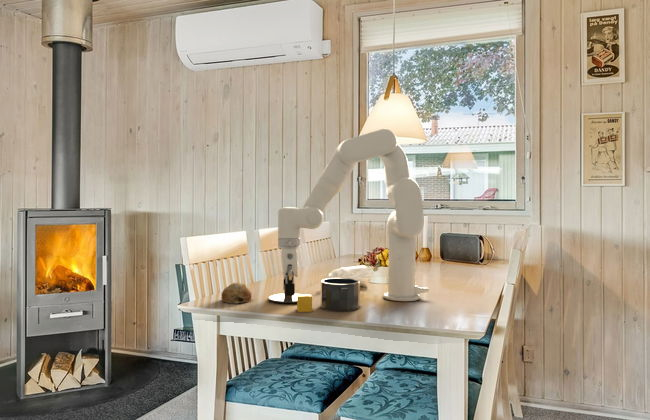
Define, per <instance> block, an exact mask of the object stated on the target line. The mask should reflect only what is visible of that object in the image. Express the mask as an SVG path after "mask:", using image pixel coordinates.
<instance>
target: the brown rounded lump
mask: <svg viewBox="0 0 650 420" xmlns="http://www.w3.org/2000/svg"><path fill="white" fill-rule="evenodd" d="M221 300H222V301H223V303H227V304H234V305H235V304H244V303H249V302H251V300H252V291H251V290H250V288H248V286H247V285H246V284H244V283H241V282H233V283H231V284H229V285H228V286H226V287H225V288H224V289H223V291H222V292H221Z"/></svg>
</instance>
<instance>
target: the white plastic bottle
mask: <svg viewBox="0 0 650 420" xmlns="http://www.w3.org/2000/svg"><path fill="white" fill-rule="evenodd" d="M370 271H371V269H370V268H369V267H368V266H367V265H356V266H347V267H346V266H345V267H339V268H337V269H334V270H332V271H331V272H330V273H327V274H326V275H325V276H324V277H323V278H324V279H329V278H349V279H355V280H359V281H360V287H363V286H367V285H369V283H370V282H371V278H372V276H371V275H372V274H371V272H370Z"/></svg>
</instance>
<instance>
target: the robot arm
mask: <svg viewBox="0 0 650 420" xmlns="http://www.w3.org/2000/svg"><path fill="white" fill-rule="evenodd" d="M333 152H334V153H333V154H332V156H331V158H330V160H329V161H328V163H327V165H326V166H325V168H324V170H323V171H322V173H321V174H320V177H319V178H318V179H317V181H316V184H315V186H314V187H313V189H312V190H311V192H310V194H309V196H308V197H307V199H306V201H305V202H304V204H303V206H302V207H299V208H298V207H293V206H292V207H291V206H287V207H286V206H285V207H280V208H279V209H278V212H277V248H278V249H281V272H282V276H283V285H284V284H285V296H294V295H295V294H296V293H295V291H296V288H295V287H296V286H295V285H296V284H295V278H297V277H299V268H298V267H299V263H298V262H299V260H298V249H299V248H301V229H306V230H307V229H308V230H315V229H317V228H318V229H319V228H320V227H321V225H322V224H323V222H324V212H325V210H326V209H327V207H328V205H329V204H330V202H331V201H332V200H333V199H334V197H336V196H337V195H338V194H339V193H340V192H341V191H342V189H343V188H344V186H345V185H346V183H347V181H348V179H349V177H350V175H351V173H352V172H353V170H354V168H355V166H356V165H357V163H361V162H365V161H368V160H371V159H374V158H375V159H376V158H379V160H380V161H381V162H382V165H383V169H384V175H385V177H384V178H385V187H386V197H387V199H388V200H389V201H388V202H390V203H391V204H393V205H394V210H393V211H392V212H391V214H389V217H388V218H387V222H386V224H387V225H386V226H387V237H388V262H387V263H388V264H387V265H388V266H387V267H388V270H387V292H384V293H383V298H384V299H386V300H388V301H392V302H393V301H395V302H414V301H418V300H419V299H420V295H421V294H429V292H430V289H429V287H424V286H418V285H416V262H417V261H416V260H417V259H416V257H417V255H416V254H417V245H416V243H417V242H416V237H418V236H419V235H420V234H421V233H422V231H423V230H424V226H425V217H424V206H423V198H422V197H423V196H422V191H421V188H420V186H419V184H418V182H417V181H416V180H414V179H412V178H411V174H410V173H411V172H410V166H409V161H408V157H407V155H406V152H405V150H404V149H403V148H402V147H401V145H400V144H399V143H398V138H397V135H396V134H395V132H394V131H392V130H391V129H388V128H381V129H377V130H374V131H371V132H368V133H363V134H362V135H358V136H354V137H350V138H347V139H345V140H343V141H342V142H340V143H339V145H338V146H337V147H336V149H335V151H333ZM283 290H284V286H283Z"/></svg>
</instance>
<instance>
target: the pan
mask: <svg viewBox="0 0 650 420" xmlns="http://www.w3.org/2000/svg"><path fill="white" fill-rule="evenodd" d="M360 287H361V286H360V281H359V280H355V279H349V278H329V279H325V278H324V279H322V280H321V281H320V308H321V309H323V310H326V311H329V312H330V311H331V312H351V311H356V310H358V309H360V303H361V302H360V300H361V299H360V297H361V296H360V292H361V291H360V290H361V288H360Z"/></svg>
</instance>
